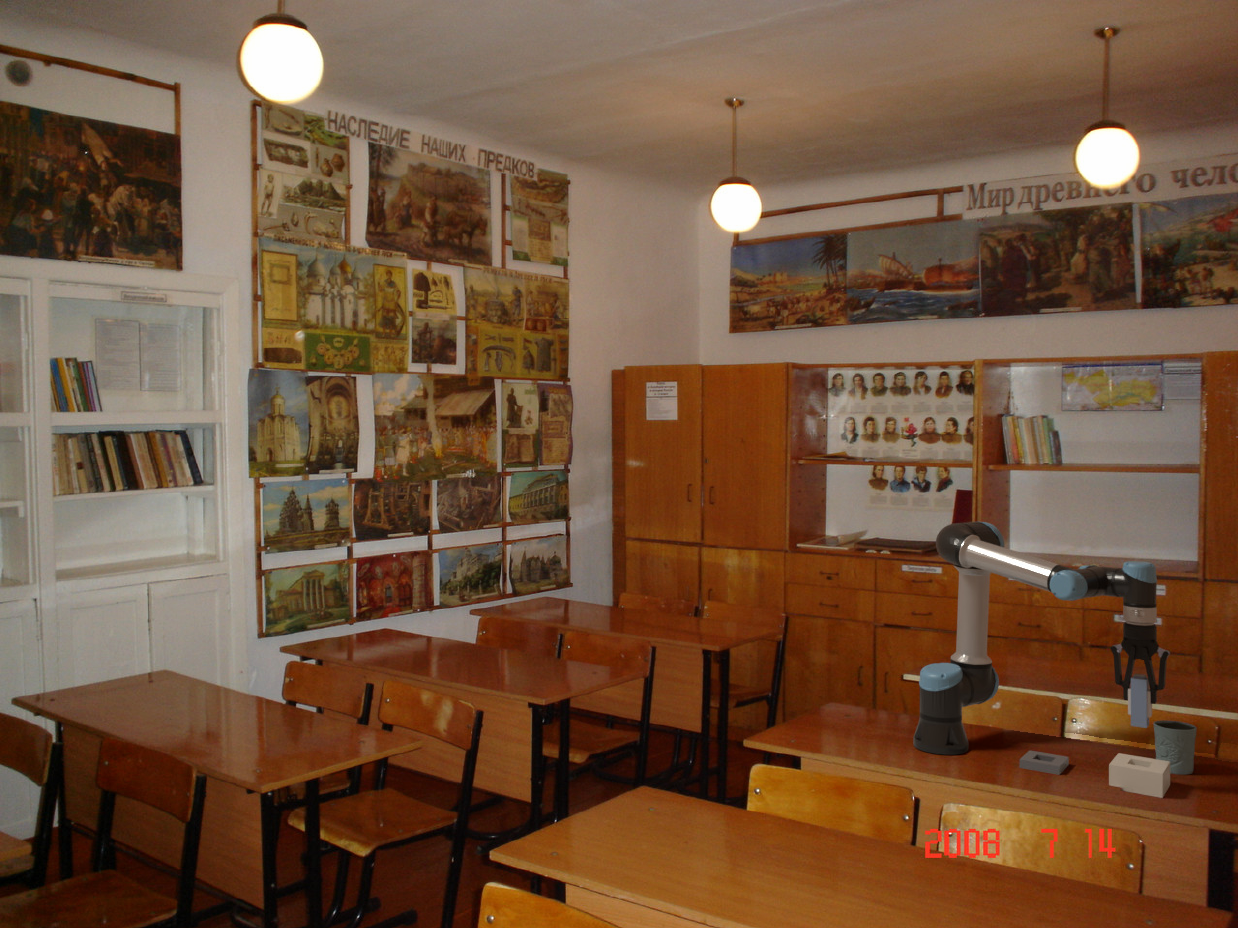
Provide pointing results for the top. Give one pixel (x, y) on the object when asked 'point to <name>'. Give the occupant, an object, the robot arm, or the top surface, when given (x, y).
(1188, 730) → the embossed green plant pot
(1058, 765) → the grey square socket block
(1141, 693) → the plug
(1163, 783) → the port
